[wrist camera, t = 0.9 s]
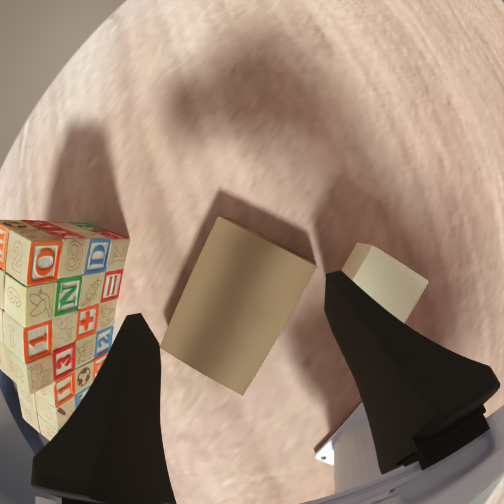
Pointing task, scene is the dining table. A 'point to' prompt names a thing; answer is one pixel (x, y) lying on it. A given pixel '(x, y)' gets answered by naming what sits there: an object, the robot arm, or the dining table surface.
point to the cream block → (385, 279)
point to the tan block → (235, 304)
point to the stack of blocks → (56, 312)
